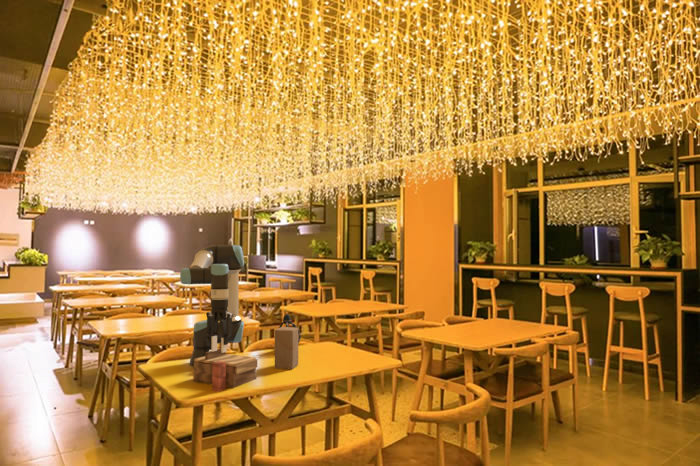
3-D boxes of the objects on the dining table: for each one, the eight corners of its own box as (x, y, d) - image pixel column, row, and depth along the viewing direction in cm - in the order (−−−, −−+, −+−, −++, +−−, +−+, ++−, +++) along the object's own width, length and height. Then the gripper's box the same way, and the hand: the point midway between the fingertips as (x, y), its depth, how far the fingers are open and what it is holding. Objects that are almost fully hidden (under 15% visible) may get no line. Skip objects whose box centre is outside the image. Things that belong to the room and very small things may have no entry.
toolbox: (193, 381, 213) (193, 362, 214) (217, 373, 228) (217, 355, 228) (233, 387, 203) (233, 367, 203) (255, 378, 217) (256, 359, 217)
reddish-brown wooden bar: (218, 388, 203) (218, 360, 203) (225, 389, 201) (225, 361, 201) (212, 390, 199) (212, 362, 200) (219, 391, 197) (219, 363, 198)
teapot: (284, 355, 267) (284, 315, 268) (266, 348, 287) (267, 311, 288) (302, 352, 274) (302, 314, 275) (284, 345, 294) (284, 309, 295)
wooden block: (292, 369, 234) (292, 330, 235) (274, 368, 236) (274, 329, 237) (298, 364, 244) (298, 327, 245) (280, 364, 246) (281, 326, 247)
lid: (194, 368, 214) (194, 352, 214) (216, 361, 227) (216, 346, 228) (236, 374, 203) (236, 357, 203) (257, 367, 216) (257, 350, 216)
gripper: (198, 298, 202) (197, 351, 201) (229, 300, 194) (229, 355, 193) (210, 297, 209) (209, 348, 208) (241, 298, 201) (240, 351, 200)
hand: (219, 351), depth 201 cm, fingers open, 5 cm apart
